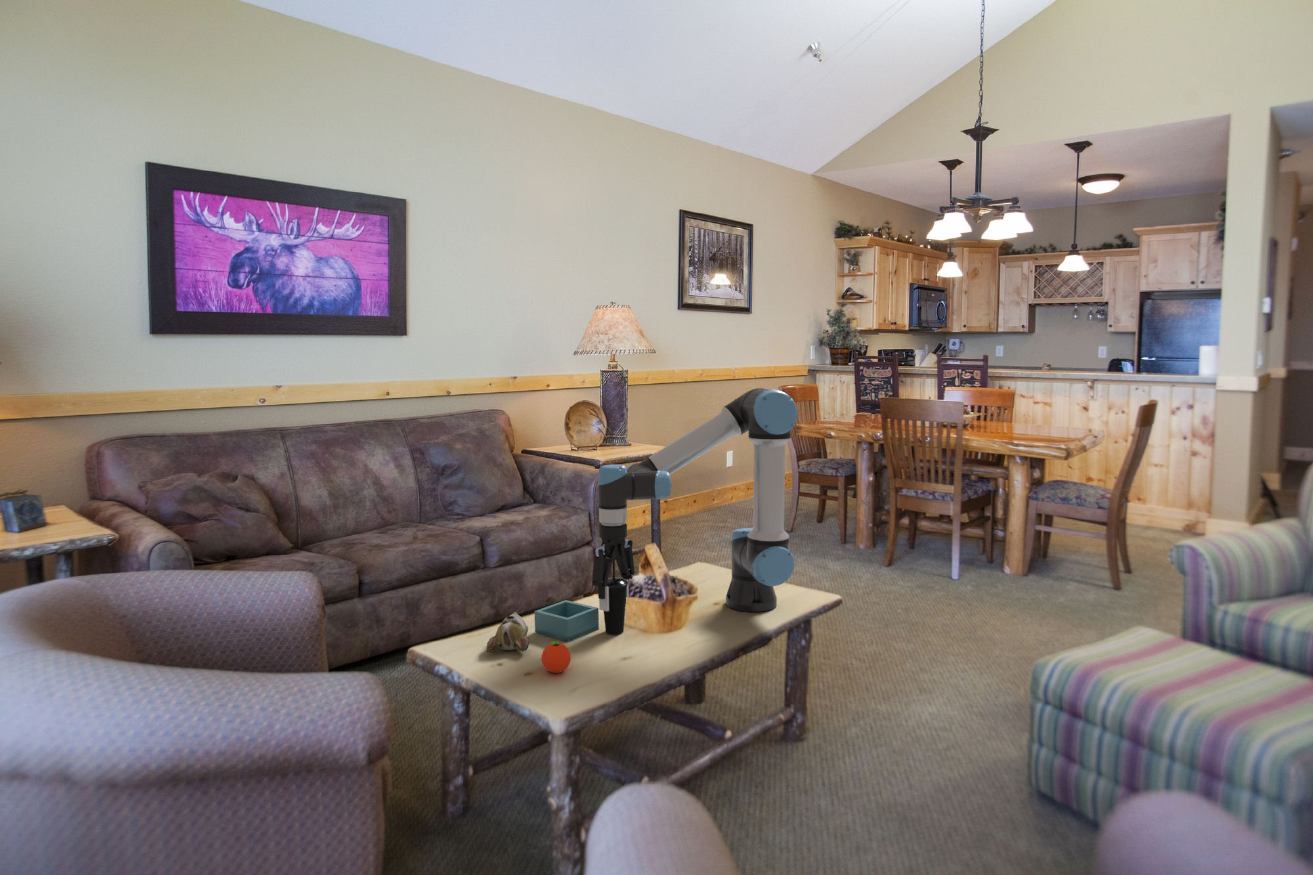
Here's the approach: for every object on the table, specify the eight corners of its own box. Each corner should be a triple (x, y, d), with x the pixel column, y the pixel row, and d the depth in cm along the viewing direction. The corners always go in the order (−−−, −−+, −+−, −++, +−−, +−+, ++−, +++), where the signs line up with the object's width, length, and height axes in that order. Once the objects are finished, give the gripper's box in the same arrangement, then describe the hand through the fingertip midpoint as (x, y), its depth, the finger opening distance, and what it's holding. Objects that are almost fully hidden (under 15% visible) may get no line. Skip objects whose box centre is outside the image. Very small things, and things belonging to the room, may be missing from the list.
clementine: (537, 667, 194) (536, 638, 193) (564, 662, 197) (564, 634, 196) (546, 679, 187) (545, 649, 186) (575, 674, 190) (574, 645, 189)
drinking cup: (616, 638, 213) (615, 564, 211) (594, 632, 218) (593, 560, 216) (634, 630, 219) (633, 558, 217) (613, 625, 224) (611, 554, 222)
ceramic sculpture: (534, 605, 214) (525, 628, 199) (536, 636, 215) (527, 661, 200) (494, 606, 214) (482, 628, 199) (496, 637, 215) (484, 662, 200)
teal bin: (598, 629, 221) (598, 607, 220) (568, 642, 211) (567, 619, 210) (566, 620, 228) (565, 600, 227) (535, 632, 218) (534, 611, 218)
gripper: (626, 515, 226) (627, 594, 228) (576, 528, 210) (578, 613, 212) (647, 518, 221) (648, 599, 224) (598, 531, 205) (599, 618, 207)
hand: (614, 605), depth 218 cm, fingers closed on drinking cup, 8 cm apart
